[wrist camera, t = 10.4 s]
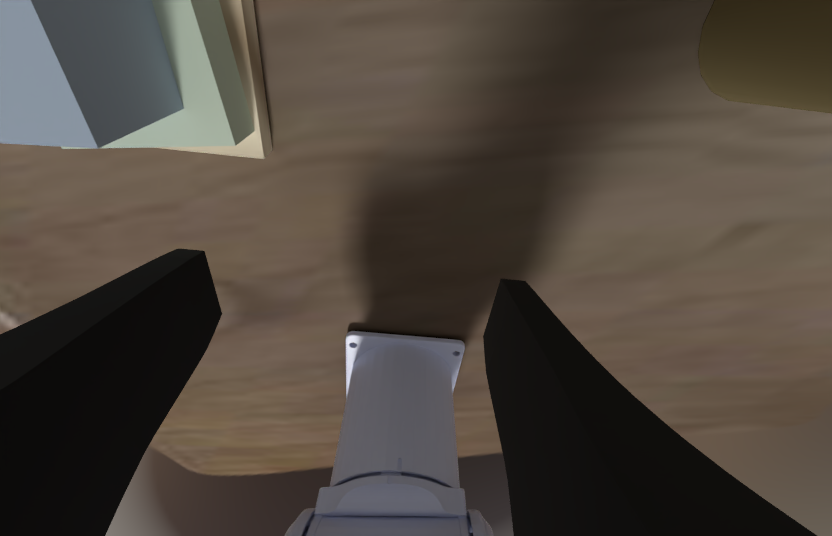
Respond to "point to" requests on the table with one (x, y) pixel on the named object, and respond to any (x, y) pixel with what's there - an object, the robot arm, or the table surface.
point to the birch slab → (245, 81)
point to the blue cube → (82, 71)
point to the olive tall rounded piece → (769, 52)
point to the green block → (197, 81)
